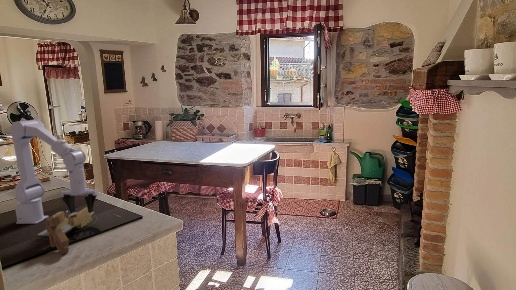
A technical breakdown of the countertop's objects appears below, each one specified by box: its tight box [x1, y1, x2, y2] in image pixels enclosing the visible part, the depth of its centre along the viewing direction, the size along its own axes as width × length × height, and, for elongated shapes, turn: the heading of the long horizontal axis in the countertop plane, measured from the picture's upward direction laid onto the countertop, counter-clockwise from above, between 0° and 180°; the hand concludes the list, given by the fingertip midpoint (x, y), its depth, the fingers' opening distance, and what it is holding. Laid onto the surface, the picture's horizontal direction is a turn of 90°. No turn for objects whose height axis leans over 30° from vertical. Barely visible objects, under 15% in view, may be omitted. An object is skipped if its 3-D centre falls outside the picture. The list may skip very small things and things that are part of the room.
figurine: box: [44, 215, 70, 256], centre depth 123 cm, size 13×2×15 cm
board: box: [37, 211, 95, 237], centre depth 148 cm, size 24×10×1 cm, turn 176°
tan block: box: [68, 206, 93, 229], centre depth 144 cm, size 12×4×6 cm, turn 176°
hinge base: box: [52, 210, 70, 229], centre depth 143 cm, size 11×3×6 cm, turn 176°
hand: (81, 212), depth 145 cm, fingers open, 7 cm apart
